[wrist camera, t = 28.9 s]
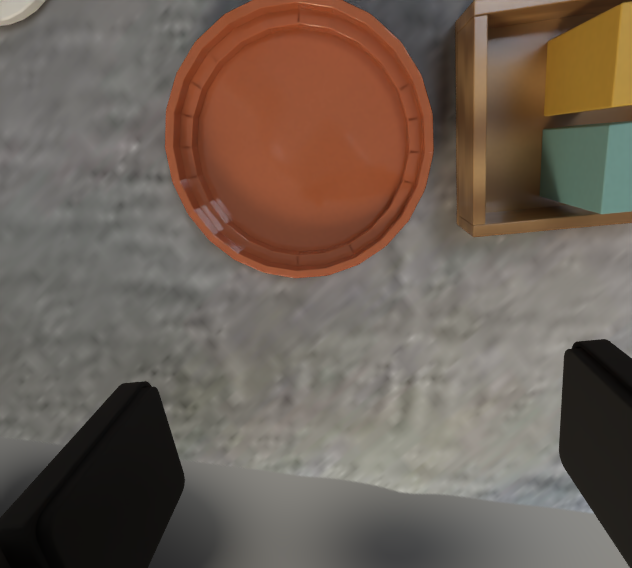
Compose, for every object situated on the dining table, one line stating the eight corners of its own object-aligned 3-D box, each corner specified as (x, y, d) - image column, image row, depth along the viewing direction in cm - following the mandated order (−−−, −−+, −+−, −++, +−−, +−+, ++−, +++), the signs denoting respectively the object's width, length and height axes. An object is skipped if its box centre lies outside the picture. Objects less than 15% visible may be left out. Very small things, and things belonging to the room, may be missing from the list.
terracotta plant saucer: (157, 28, 29) (136, 16, 27) (421, -14, 27) (429, -32, 24) (207, 275, 35) (194, 286, 32) (429, 255, 33) (436, 266, 30)
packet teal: (542, 129, 29) (609, 124, 21) (580, 124, 29) (662, 118, 21) (538, 196, 30) (600, 214, 23) (575, 192, 30) (650, 210, 22)
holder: (454, 22, 28) (473, -1, 23) (678, -12, 26) (742, -42, 22) (456, 224, 32) (473, 237, 28) (649, 206, 30) (698, 216, 26)
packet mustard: (547, 41, 27) (621, 2, 20) (588, 35, 27) (680, -7, 19) (543, 116, 29) (611, 107, 21) (582, 111, 28) (665, 101, 21)
